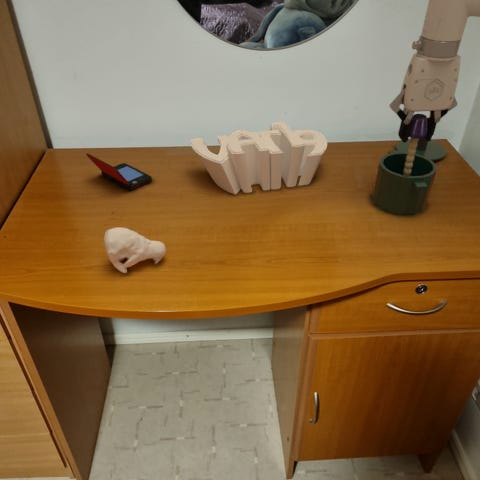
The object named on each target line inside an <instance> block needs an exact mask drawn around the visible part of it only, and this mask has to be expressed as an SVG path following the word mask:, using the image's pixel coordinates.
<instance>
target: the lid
mask: <svg viewBox="0 0 480 480" xmlns="http://www.w3.org/2000/svg"><path fill="white" fill-rule="evenodd" d="M410 142H411V138H408V141H407V142H405V143H404V142H403V141H402V140H400V141H398V142H397V143H396V146H395V150H398V151H399V152H405V153H408V149H409V144H410ZM415 154H417V155H421V156H424V157H426V158H428V159H430V160H432V161H433V162H435V161H439V160H442V159H443V158H445V157H446V156H447V155H446V154H447V150H446V148H445V147H444V145H442V144H440V143H438V142H435V141H433V140H431V141H427V140H426V139H425V138H419V140H418V142H417V147H416V153H415Z"/></svg>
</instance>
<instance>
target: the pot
mask: <svg viewBox="0 0 480 480" xmlns="http://www.w3.org/2000/svg"><path fill="white" fill-rule="evenodd" d="M407 155H408V153H405V152H399V151H398V150H396V149H394V150H388V152H387V154H384V155H383V156H382V157H381V158H380V159H379V164H378V168H377V173H376V177H375V182H374V186H373V191H372V195H371V200H372V203H373V205H374V206H376V208H377V209H379V210H381V211H383V212H385V213H388V214H391V215H396V216H413V215H416V214H419V213H421V212H422V211H424V210H425V209H426V206H427V203H428V200H429V197H430V194H431V190H432V188H433V184H434V181H435V177H436V174H437V169H438V168H437V165H436V163H435V161H432V160H430V159H428V158H426V157H424V156H421V155H417V154H415V155H414V161H413V166H412V168H411V174H410V176H406V175H403V174H404V173H403V171H404V168H405V163H406V157H407Z"/></svg>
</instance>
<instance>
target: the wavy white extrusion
mask: <svg viewBox="0 0 480 480" xmlns="http://www.w3.org/2000/svg"><path fill="white" fill-rule="evenodd" d="M216 139H217V141H218V143H219V146H220V149H219V152H218V154H216V153H214V152H211V150H209V148H208V145H207V144H206V142H205V140H204V139H203V137H197V138H196V137H195V138H191V139H190V146H191V148H192V150H193V151H194V152H195V154H196V156H197V157H198V160H200V162H201V163H202V165H203V167H204V168H205V169H206V171H207V173H208V174H209V176H210V177H211V179H212V180H213V182H214V183H215V184H216V185H217V186H218V187H219V188H221V189H222V190H224V191H225V192H228V193H229V194H232V195H237V194H238V193H239V192H240V191H242V192H243V193H244V194H250V193H252V192H253V188H252V185H259V186H260V187H261V190H262V191H270V190H280V189H281V186H282V180H283V182H284V184H285V186H286V188H294V187H296V186H298V187H300V186H307V185H309V184H310V183H311V181H312V180H313V178H314V176H315V174H316V171H317V169H318V168H319V166H320V163H321V161H322V159H323V156H324V154H325V152H326V150H327V148H328V140H327V138H326V136H325V135H324V134H323V133H321V132H319V131H317V130H314V129H297V130H292V129H291V128H290V127H289V126H288V124H286V123H285V122H284V121H277V122H273V123H271V124H270V125H269V130H259V131H249V130H244V129H240V128H239V129H237V130H234V131H232V133H231V134H229V135H224V134H223V135H218V136H216ZM298 178H299V181H298Z"/></svg>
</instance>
